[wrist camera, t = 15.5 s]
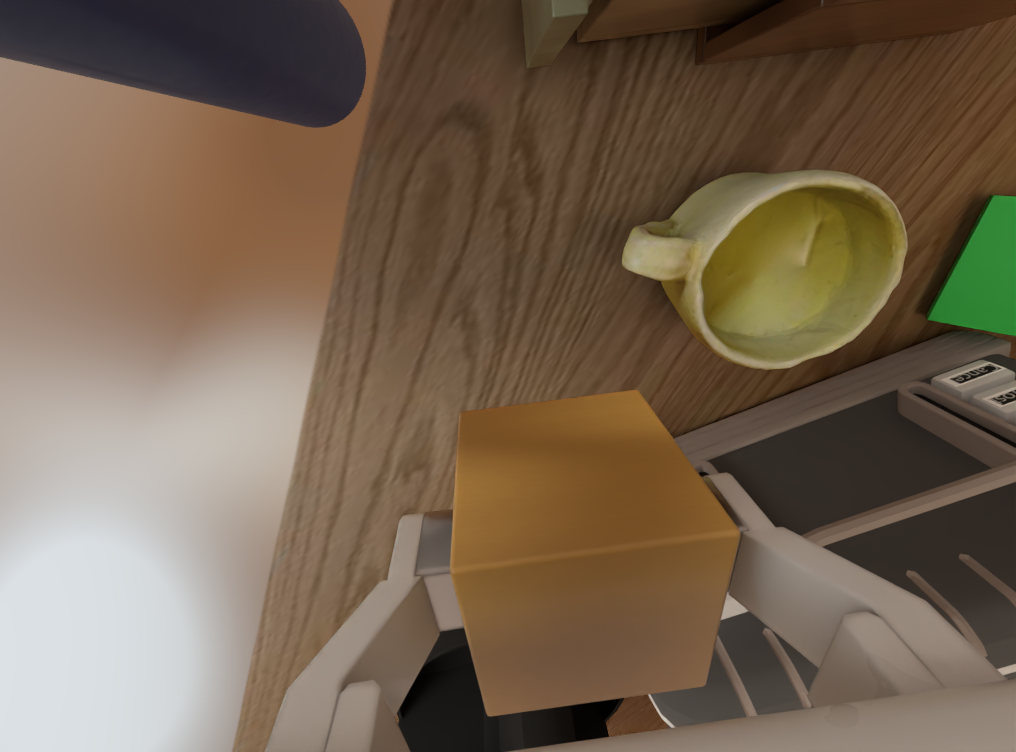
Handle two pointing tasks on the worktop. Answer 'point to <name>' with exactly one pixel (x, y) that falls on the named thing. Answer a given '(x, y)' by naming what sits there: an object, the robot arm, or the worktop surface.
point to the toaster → (874, 505)
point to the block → (584, 553)
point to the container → (462, 717)
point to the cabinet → (841, 25)
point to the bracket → (983, 274)
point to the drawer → (621, 20)
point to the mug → (775, 263)
